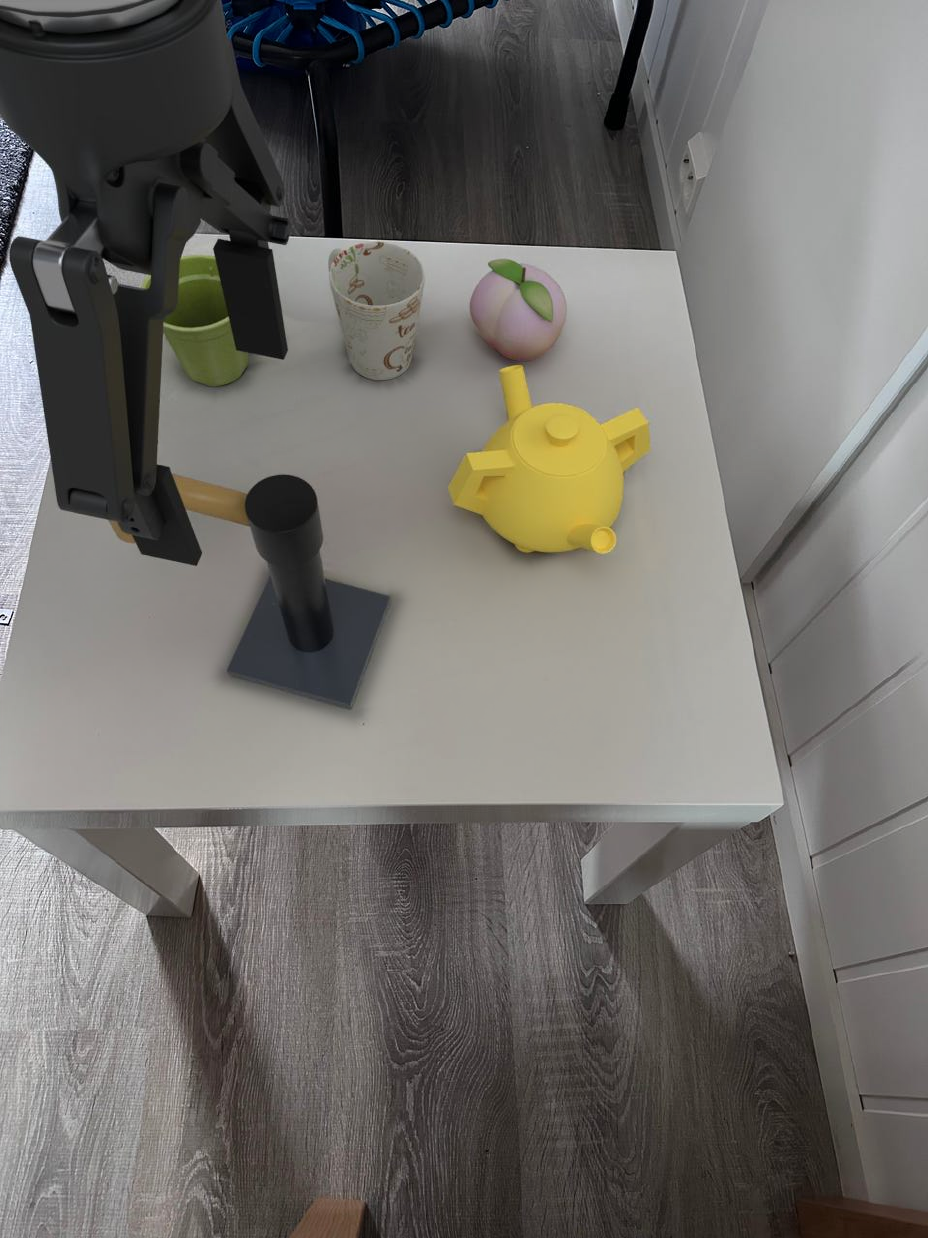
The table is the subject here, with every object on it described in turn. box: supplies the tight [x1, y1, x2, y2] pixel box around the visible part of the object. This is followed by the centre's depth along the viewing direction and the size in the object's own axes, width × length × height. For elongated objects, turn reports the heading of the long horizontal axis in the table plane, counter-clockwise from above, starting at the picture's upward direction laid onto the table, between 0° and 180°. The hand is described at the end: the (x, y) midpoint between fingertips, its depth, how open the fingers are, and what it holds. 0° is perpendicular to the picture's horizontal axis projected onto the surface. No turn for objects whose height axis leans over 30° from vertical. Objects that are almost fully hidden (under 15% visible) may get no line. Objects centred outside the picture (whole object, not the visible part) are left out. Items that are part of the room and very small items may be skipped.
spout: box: [107, 473, 324, 567], centre depth 55 cm, size 16×4×8 cm, turn 75°
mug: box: [327, 241, 426, 381], centre depth 79 cm, size 8×13×10 cm, turn 39°
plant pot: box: [140, 254, 249, 387], centre depth 77 cm, size 9×9×9 cm
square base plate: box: [226, 549, 391, 711], centre depth 62 cm, size 10×10×14 cm
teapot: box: [447, 364, 651, 555], centre depth 70 cm, size 20×18×11 cm
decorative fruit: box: [469, 258, 568, 361], centre depth 80 cm, size 9×8×10 cm
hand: (220, 445), depth 43 cm, fingers open, 13 cm apart
